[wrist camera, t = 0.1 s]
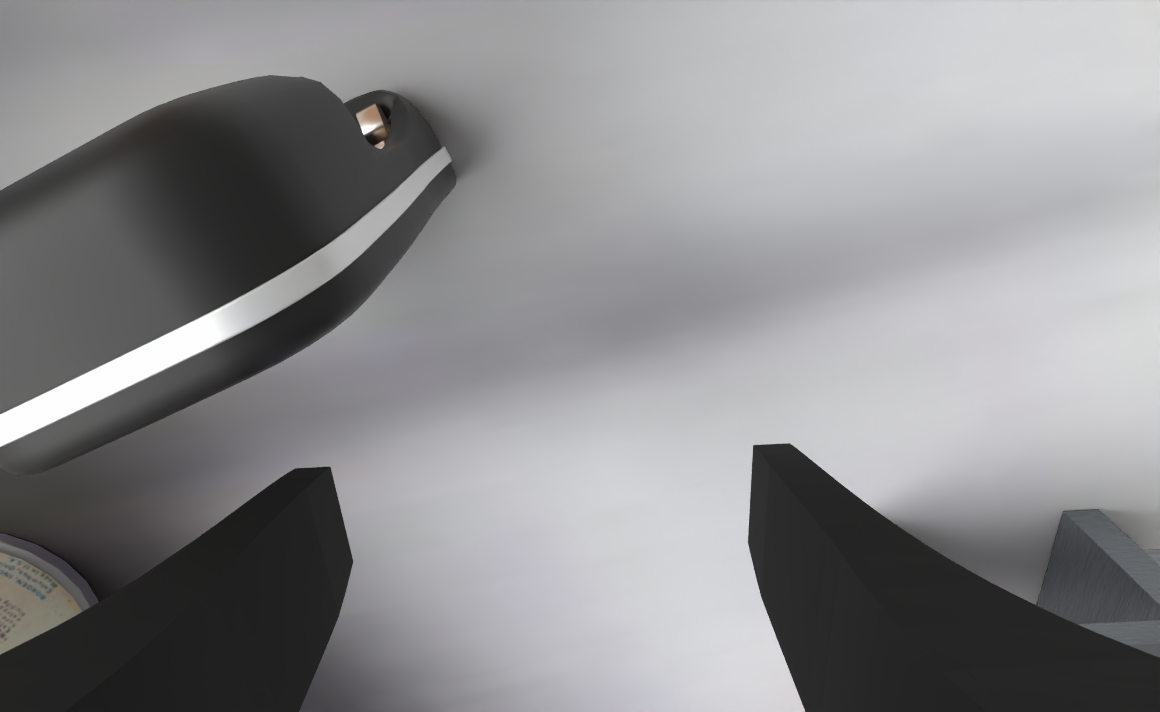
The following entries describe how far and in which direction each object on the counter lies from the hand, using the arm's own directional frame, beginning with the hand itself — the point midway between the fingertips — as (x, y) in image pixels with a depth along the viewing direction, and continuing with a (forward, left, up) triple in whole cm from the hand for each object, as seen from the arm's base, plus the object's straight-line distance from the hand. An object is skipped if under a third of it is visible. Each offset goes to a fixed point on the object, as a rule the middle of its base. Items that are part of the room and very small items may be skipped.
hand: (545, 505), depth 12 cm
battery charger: (+4, +6, -10) cm, 13 cm away
